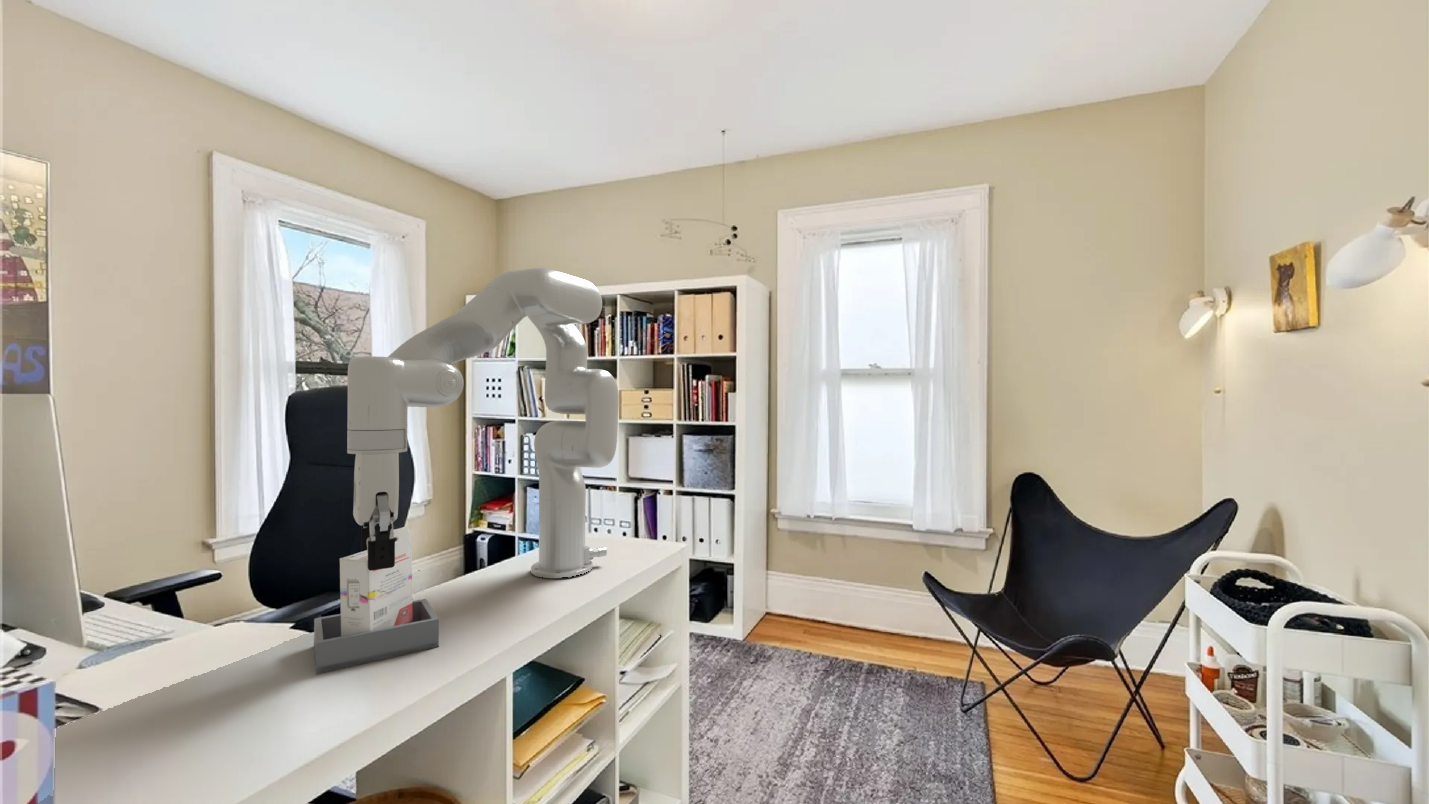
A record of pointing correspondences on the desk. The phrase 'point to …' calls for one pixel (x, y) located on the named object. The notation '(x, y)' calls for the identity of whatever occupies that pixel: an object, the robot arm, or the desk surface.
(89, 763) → the desk surface
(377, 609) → the ink cartridge box
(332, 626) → the box
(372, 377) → the robot arm
